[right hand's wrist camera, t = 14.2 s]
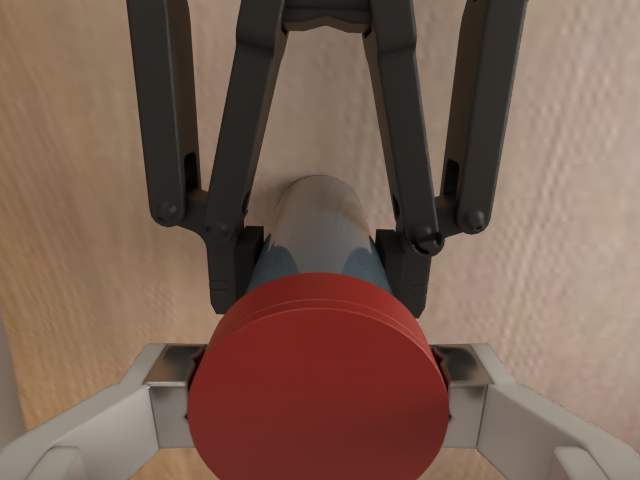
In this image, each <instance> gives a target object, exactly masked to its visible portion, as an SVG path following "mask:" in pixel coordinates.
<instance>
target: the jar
mask: <svg viewBox="0 0 640 480" xmlns="http://www.w3.org/2000/svg"><path fill="white" fill-rule="evenodd" d="M309 272H327V273H336V274H343V275H347V276H351V277H356V278H359V279H361V280H364V281H367V282H369V283H372V284H374V285H376V286H378V287H379V288H381V289H383V290H385V291H386V292H388V293H389V294H391V295H392V296H394V295H393V293H392V290H391V287H390V284H389V282H388V279H387V276H386V273H385V270H384V268H383V265H382V262H381V259H380V257H379V254H378V251H377V248H376V246H375V243H374V240H373V237H372V234H371V232H370V229H369V226H368V223H367V221H366V218H365V215H364V212H363V209H362V207H361V204H360V201H359V199H358V197H357V195H356V194H355V193H354V191H353V190H352V189H351V188H350V187H349V186H348V185H347V184H345V183H344V182H342V181H341V180H339V179H336V178H334V177H330V176H324V175H314V176H309V177H305V178H303V179H300V180H298V181H297V182H295V183H294V184H292V185H291V186H290V187H289V188H288V189H287V190H286V191H285V192H284V194H283V195H282V197H281V199H280V201H279V204H278V206H277V209H276V212H275V214H274V217H273V220H272V223H271V225H270V228H269V231H268V233H267V236H266V239H265V241H264V244H263V247H262V249H261V252H260V255H259V257H258V260H257V263H256V265H255V268H254V271H253V273H252V276H251V279H250V281H249V284H248V287H247V290H246V292H245V295H246V294H247V293H249V292H250V291H252V290H254V289H255V288H257V287H259V286H261V285H263V284H265V283H268V282H270V281H273V280H275V279H278V278H282V277H285V276H289V275H293V274H301V273H309ZM245 295H244V296H245Z"/></svg>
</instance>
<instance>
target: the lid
mask: <svg viewBox="0 0 640 480" xmlns="http://www.w3.org/2000/svg"><path fill="white" fill-rule="evenodd" d="M187 418H188V424H189V431H190V434H191V437H192V440H193V443H194V445H195V447H196V449H197V451H198V453H199V455H200V457H201V458H202V459H203V461H204V462H205V464H206V465H207V467H208V468H209V469H210V470H211V471H212V472H213V473H214V474H215V475H216V476H217V478H219V479H220V480H417V479H418V478H419V477H420V476H421V475H422V474H423V473H424V472H425V471H426V469H427V468H428V467H429V466H430V465H431V463H432V462H433V460H434V459H435V457H436V456H437V454H438V452H439V450H440V448H441V446H442V444H443V442H444V439H445V435H446V432H447V428H448V421H449V399H448V394H447V390H446V386H445V383H444V381H443V378H442V375H441V373H440V371H439V368H438V366H437V364H436V361H435V359H434V357H433V354H432V352H431V350H430V347H429V345H428V343H427V340H426V338H425V336H424V333H423V331H422V329H421V327H420V326H419V324H418V322H417V321H416V319H415V318H414V316H413V315H412V314H411V313H410V311H409V310H408V309H407V308H406V307H405V306H404V305H403V304H402V303H401V302H400V301H399V300H398V299H396V298H395V297H394V296H392V295H391V294H389V293H388V292H386V291H385V290H383V289H381V288H379V287H378V286H376V285H374V284H372V283H369V282H367V281H364V280H361V279H359V278H356V277H351V276H347V275H343V274H336V273H327V272H309V273H301V274H293V275H289V276H285V277H282V278H278V279H275V280H273V281H270V282H268V283H265V284H263V285H261V286H259V287H257V288H255V289H254V290H252V291H250V292H249V293H247V294H246V295H245V296H243V297H242V298H241V299H239V300H238V301H237V302H236V303H235V304H234V305H233V306H232V307H231V308H230V309H229V310H228V311H227V312H226V314H225V315H224V316H223V318H222V319H221V320H220V322H219V324H218V325H217V327H216V329H215V331H214V333H213V335H212V337H211V340H210V342H209V344H208V346H207V349H206V351H205V353H204V355H203V358H202V360H201V362H200V364H199V367H198V369H197V371H196V374H195V376H194V379H193V381H192V384H191V387H190V391H189V396H188V402H187Z"/></svg>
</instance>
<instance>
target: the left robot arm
mask: <svg viewBox="0 0 640 480" xmlns="http://www.w3.org/2000/svg"><path fill="white" fill-rule="evenodd" d="M126 2H127V11H128V20H129V29H130V38H131V47H132V56H133V65H134V74H135V83H136V92H137V101H138V110H139V119H140V127H141V136H142V145H143V154H144V163H145V172H146V181H147V190H148V199H149V208H150V213H151V216H152V218H153V219H154V220H155V222H157V223H158V224H160V225H161V226H165V227H173V226H176V225H177V226H180V227H183V228H186V229H188V230H191V231H193V232H195V233H197V234H198V235H200V236H201V238H202V239H203V240H204V242H205V244H206V248H207V259H208V273H209V286H210V300H211V305H212V307H213V308H214V310H215V312H216V314H226V312H227V311H228V310H229V309H230V308H231V307H232V306H233V305H234V304H235V303H236V302H237V301H238V300H239V299H241V298H242V297H243V296H244V295H245V292H246V290H247V287H248V284H249V281H250V279H251V276H252V273H253V271H254V268H255V265H256V263H257V260H258V257H259V255H260V252H261V249H262V247H263V244H264V227H263V226H246V227H245V229H244V218H245V216H246V215H247V213H248V210H247V207H248V203H249V198H250V194H251V190H252V185H253V181H254V176H255V172H256V168H257V163H258V159H259V155H260V150H261V146H262V142H263V137H264V133H265V128H266V124H267V120H268V115H269V111H270V107H271V102H272V98H273V93H274V89H275V85H276V80H277V76H278V72H279V67H280V63H281V60H282V58H283V55H284V51H285V47H286V43H287V38H288V34H289V31H306V30H310V29H314V28H317V27H321V26H330V27H333V28H336V29H339V30H342V31H345V32H348V33H362V38H363V44H364V49H365V54H366V58H367V61H368V65H369V69H370V75H371V81H372V87H373V93H374V99H375V105H376V111H377V117H378V123H379V128H380V134H381V140H382V146H383V152H384V158H385V164H386V170H387V176H388V182H389V188H390V194H391V200H392V205H393V211H394V217H395V221H396V232H395V231H394V230H386V229H376V239H375V246H376V248H377V251H378V254H379V257H380V259H381V262H382V265H383V268H384V270H385V273H386V276H387V279H388V282H389V284H390V287H391V290H392V293H393V295H394V297H395V298H396V299H398V300H399V301H400V302H401V303H402V304H403V305H404V306H405V307H406V308H407V309H408V310H409V311H410V313H411V314H412V315H413V316H414V318H419V317H420V315H421V313H422V312H423V310H424V308H425V303H426V294H427V288H428V286H427V285H428V280H429V273H430V265H431V257H432V256H435V255H437V254H438V253H439V252H440V251H441V250H442V248H443V246H444V241H445V238H446V237H449V236H452V235H455V234H459V233H462V232H464V233H466V234H471V235H472V234H478V233H480V232H481V231H483V230H484V229H485V228H486V227H487V226H488V224H489V221H490V218H491V212H492V207H493V201H494V195H495V189H496V183H497V177H498V171H499V165H500V160H501V154H502V148H503V142H504V136H505V130H506V124H507V118H508V113H509V107H510V101H511V95H512V89H513V83H514V77H515V71H516V66H517V60H518V54H519V48H520V42H521V36H522V30H523V24H524V19H525V13H526V7H527V2H528V0H467V2H466V6H465V9H464V13H463V16H462V22H461V27H460V34H459V42H458V50H457V58H456V66H455V74H454V82H453V91H452V99H451V107H450V115H449V123H448V131H447V139H446V148H445V156H444V164H443V172H442V180H441V188H440V196H438V197H435V198H434V191H433V184H432V176H431V168H430V161H429V153H428V146H427V138H426V130H425V123H424V115H423V108H422V100H421V92H420V85H419V77H418V69H417V62H416V53H415V48H416V41H417V34H416V24H415V16H414V9H413V1H412V0H241V5H240V10H239V16H238V21H237V27H236V50H235V55H234V61H233V66H232V71H231V76H230V81H229V87H228V92H227V97H226V102H225V107H224V113H223V118H222V123H221V128H220V133H219V139H218V144H217V149H216V154H215V160H214V165H213V170H212V175H211V180H210V186H209V191H208V192H206V191H203V190H201V175H200V160H199V144H198V129H197V114H196V99H195V83H194V68H193V53H192V37H191V23H190V14H189V7H188V2H187V0H126Z"/></svg>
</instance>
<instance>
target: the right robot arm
mask: <svg viewBox="0 0 640 480" xmlns="http://www.w3.org/2000/svg"><path fill="white" fill-rule="evenodd" d="M207 346H208V345H207V344H179V343H169V344H167V343H149V344H147V345H145V346H144V348H143V349H142V351H141V352H140V354H139V355H138V356H137V358H136V359H135V361H134V362H133V364H132V365H131V366H130V368H129V369H128V371H127V372H126V374H125V375H124V376H123V378H122V379H121V381H120V382H119V384H115V385H110V386H108V387H106V388H105V389H103V390H101V391H99V392H98V393H96V394H94V395H92V396H90V397H89V398H87V399H85V400H83V401H82V402H80V403H78V404H76V405H74V406H73V407H71V408H69V409H67V410H66V411H64V412H62V413H60V414H58V415H57V416H55V417H53V418H51V419H50V420H48V421H46V422H44V423H42V424H41V425H39V426H37V427H35V428H34V429H32V430H30V431H28V432H27V433H25V434H23V435H21V436H19V437H18V438H16V439H14V440H12V441H11V442H9V443H7V444H5V445H4V446H3V448H2V449H1V450H0V480H129V479H130V478H131V477H132V476H133V475H134V474H135V473H136V472H137V471H138V470H139V469H140V468H141V467H142V466H144V465H145V464H146V463H147V462H148V461H149V460H150V459H151V458H152V457H153V456H154V455H155V454H156V453H157V452H158V451H159V449H165V448H196V447H195V445H194V443H193V440H192V437H191V434H190V431H189V424H188V418H187V402H188V396H189V391H190V387H191V384H192V381H193V379H194V376H195V374H196V371H197V369H198V367H199V364H200V362H201V360H202V358H203V355H204V353H205V351H206V349H207ZM429 347H430V350H431V352H432V354H433V357H434V359H435V361H436V364H437V366H438V368H439V371H440V373H441V375H442V378H443V381H444V383H445V386H446V390H447V394H448V399H449V421H448V428H447V432H446V435H445V439H444V442H443V444H442V446H441V448H471V449H477V451H478V452H479V453H480V454H481V455H482V456H483V457H484V458H485V459H486V460H487V461H488V462H489V463H491V464H492V465H493V466H494V467H495V468H496V469H497V470H498V471H499V472H500V473H501V474H502V475H503V476H504V477H505V478H506V479H507V480H640V456H639V454H638V453H637V452H636V451H635V450H634V449H633V448H632V446H631V445H629V444H628V443H626V442H624V441H622V440H621V439H619V438H617V437H615V436H613V435H612V434H610V433H608V432H606V431H605V430H603V429H601V428H599V427H598V426H596V425H594V424H592V423H591V422H589V421H587V420H585V419H584V418H582V417H580V416H578V415H577V414H575V413H573V412H571V411H570V410H568V409H566V408H564V407H563V406H561V405H559V404H557V403H556V402H554V401H552V400H550V399H549V398H547V397H545V396H543V395H542V394H540V393H538V392H536V391H535V390H533V389H531V388H529V387H528V386H526V385H521V384H517V382H516V381H515V380H514V378H513V377H512V375H511V374H510V372H509V371H508V369H507V368H506V366H505V365H504V364H503V362H502V361H501V359H500V358H499V356H498V355H497V353H496V352H495V351H494V349H493V348H492V346H491V345H490V344H488V343H470V344H436V345H429Z"/></svg>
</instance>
